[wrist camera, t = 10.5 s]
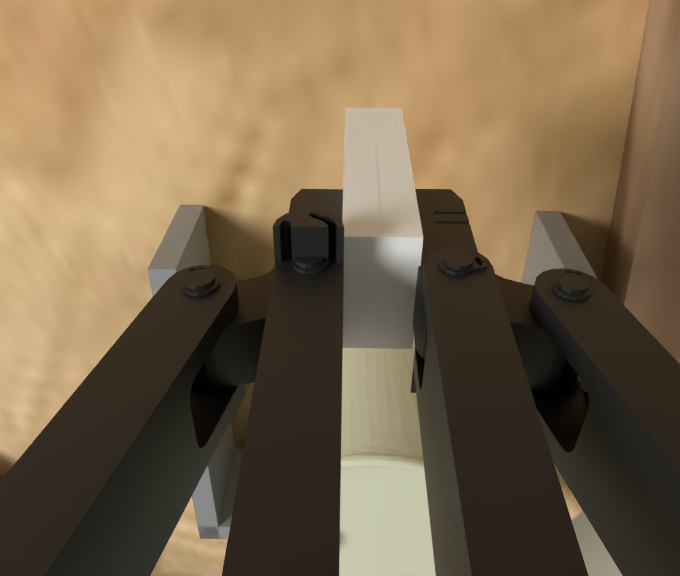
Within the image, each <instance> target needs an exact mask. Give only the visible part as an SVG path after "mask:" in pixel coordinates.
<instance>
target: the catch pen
mask: <svg viewBox="0 0 680 576" xmlns="http://www.w3.org/2000/svg"><path fill="white" fill-rule="evenodd" d="M197 265H211V259H210V251H209V244H208V236H207V228H206V220H205V212H204V206H192V205H180V207H179V209H178V211H177V212H176V214H175V216H174V218H173V220H172V222H171V224H170V226H169V228H168V230H167V232H166V234H165V236H164V238H163V240H162V242H161V244H160V246H159V248H158V250H157V252H156V254H155V256H154V258H153V260H152V262H151V263H150V265H149V267H148V273H149V278H150V283H151V288H152V294H153V296H154V295H155V294H156V293H157V291H158V290H159V289H160V288H161V287H162V285H163V284H164V283H165V282H166V281H167V279H169V278H170V277H171V276H172V275H173V274H175V273H176V272H178V271H180V270H183V269H185V268H187V267H192V266H197ZM562 268H567V269H573V270H578V271H582V272H584V273H586V274H589V275H591V276H594V277H595V278H596V279H597V276H596V275H595V273H594V271H593V269H592V268H591V266H590V264H589V262H588V260H587V259H586V257H585V255H584V253H583V252H582V250H581V248H580V246H579V244H578V243H577V241H576V239H575V237H574V236H573V234H572V232H571V230H570V228H569V227H568V225H567V223H566V221H565V220H564V218H563V216H562V214H561V212H536V215H535V220H534V225H533V230H532V235H531V240H530V245H529V250H528V255H527V260H526V265H525V270H524V274H523V279H522V283H524V284H529V285H534V284H535V280H536V277H537V276H538V275H539V274H541V273H542V272H543V271H547V270H551V269H562ZM243 449H244V448H234V440H233V433H232V425H231V422H230V424H229V426H228V428H227V430H226V431H225V433H224V435H223V437H222V439H221V441H220V443H219V445H218V447H217V449H216V451H215V452H214V454H213V456H212V458H211V460H210V462H209V464H208V466H207V468H206V470H205V472H204V473H203V475H202V477H201V479H200V481H199V483H198V485H197V487H196V489H195V491H194V493H193V494H192V499H193V504H194V510H195V515H196V520H197V525H198V530H199V535H200V538H203V539H228V537H229V531H230V525H231V519H232V513H233V507H234V502H235V496H236V490H237V484H238V478H239V472H240V466H241V461H242V455H243Z"/></svg>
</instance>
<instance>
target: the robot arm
mask: <svg viewBox="0 0 680 576" xmlns="http://www.w3.org/2000/svg"><path fill="white" fill-rule="evenodd" d="M273 236H274V251H275V268H274V269H273V270H271V271H270V272H268V273H266V274H264V275H262V276H259V277H256V278H252V279H248V280H242V281H237V282H236V279H235V276H234V274H233V273H231V272H230V271H229V270H227V269H226V268H222V267H219V266H216V265H197V266H192V267H187V268H185V269H183V270H180V271H178V272H176V273H175V274H173V275H172V276H171V277H170V278H169V279H167V281H166V282H165V283H164V284H163V285H162V287H161V288H160V289H159V290H158V291H157V293H156V294H155V295H154V296H153V298H152V299H151V300H150V301H149V302H148V304H147V305H146V306H145V307H144V308H143V310H142V311H141V312H140V313H139V314H138V316H137V317H136V318H135V319H134V321H133V322H132V323H131V324H130V325H129V327H128V328H127V329H126V330H125V331H124V333H123V334H122V335H121V336H120V337H119V339H118V340H117V341H116V342H115V343H114V345H113V346H112V347H111V348H110V350H109V351H108V352H107V353H106V354H105V356H104V357H103V358H102V359H101V360H100V362H99V363H98V364H97V365H96V366H95V368H94V369H93V370H92V371H91V373H90V374H89V375H88V376H87V377H86V379H85V380H84V381H83V382H82V383H81V385H80V386H79V387H78V388H77V389H76V391H75V392H74V393H73V394H72V395H71V397H70V398H69V399H68V400H67V402H66V403H65V404H64V405H63V406H62V408H61V409H60V410H59V411H58V412H57V414H56V415H55V416H54V417H53V418H52V420H51V421H50V422H49V423H48V425H47V426H46V427H45V428H44V429H43V431H42V432H41V433H40V434H39V435H38V437H37V438H36V439H35V440H34V441H33V443H32V444H31V445H30V446H29V447H28V449H27V450H26V451H25V452H24V454H23V455H22V456H21V457H20V458H19V460H18V461H17V462H16V463H15V464H14V466H13V467H12V468H11V469H10V470H9V472H8V473H7V474H6V475H5V477H4V478H3V479H2V480H1V481H0V576H150V575H151V573H152V571H153V569H154V567H155V565H156V563H157V561H158V559H159V557H160V555H161V554H162V552H163V550H164V548H165V546H166V544H167V542H168V540H169V538H170V536H171V535H172V533H173V531H174V529H175V527H176V525H177V523H178V521H179V519H180V517H181V515H182V514H183V512H184V510H185V508H186V506H187V504H188V502H189V500H190V498H191V496H192V494H193V493H194V491H195V489H196V487H197V485H198V483H199V481H200V479H201V477H202V475H203V473H204V472H205V470H206V468H207V466H208V464H209V462H210V460H211V458H212V456H213V454H214V452H215V451H216V449H217V447H218V445H219V443H220V441H221V439H222V437H223V435H224V433H225V431H226V430H227V428H228V426H229V424H230V422H231V420H232V418H233V416H234V414H235V412H236V411H237V409H238V407H239V405H240V403H241V401H242V399H243V397H244V395H245V393H246V389H247V385H248V383H252V382H255V385H254V391H253V396H252V402H251V408H250V414H249V420H248V426H247V431H246V437H245V443H244V449H243V455H242V461H241V466H240V472H239V478H238V484H237V490H236V496H235V502H234V507H233V513H232V519H231V525H230V531H229V537H228V542H227V548H226V554H225V560H224V566H223V572H222V576H339V558H340V492H341V426H342V359H343V348H384V349H412V347H413V337H414V340H415V354H414V363H413V373H412V383H411V393H416V396H417V406H418V415H419V424H420V434H421V443H422V452H423V462H424V471H425V480H426V490H427V499H428V508H429V517H430V527H431V536H432V545H433V555H434V564H435V573H436V576H588V573H587V570H586V567H585V563H584V560H583V557H582V554H581V550H580V547H579V544H578V541H577V537H576V534H575V531H574V528H573V524H572V521H571V518H570V515H569V512H568V508H567V505H566V502H565V499H564V495H563V492H562V489H561V486H560V483H559V479H558V476H557V473H556V470H555V466H554V464H555V465H556V467H557V468H558V470H559V472H560V473H561V475H562V477H563V478H564V480H565V482H566V483H567V485H568V487H569V488H570V490H571V491H572V493H573V495H574V496H575V498H576V500H577V501H578V503H579V505H580V506H581V508H582V510H583V511H584V513H585V514H586V516H587V518H588V519H589V521H590V523H591V524H592V526H593V528H594V529H595V531H596V533H597V534H598V536H599V537H600V539H601V541H602V542H603V543H604V546H605V547H606V549H607V551H608V552H609V554H610V555H611V557H612V559H613V560H614V562H615V564H616V565H617V567H618V569H619V570H620V572H621V574H622V575H623V576H680V364H679V363H678V361H677V360H676V359H675V358H674V357H673V356H672V355H671V354H670V353H669V352H668V351H667V350H666V349H665V348H664V347H663V346H662V345H661V344H660V343H659V342H658V340H657V339H656V338H655V337H654V336H653V335H652V334H651V333H650V332H649V331H648V330H647V329H646V328H645V327H644V326H643V325H642V324H641V323H640V322H639V320H638V319H637V318H636V317H635V316H634V315H633V314H632V313H631V312H630V311H629V310H628V309H627V308H626V307H625V306H624V305H623V304H622V303H621V302H620V301H619V299H618V298H617V297H616V296H615V295H614V294H613V293H612V292H611V291H610V290H609V289H608V288H607V287H606V286H605V285H604V284H603V283H602V282H600V281H599V280H598V279H596V278H595V277H594V276H591V275H589V274H586V273H584V272H582V271H578V270H573V269H567V268H562V269H551V270H547V271H543V272H542V273H541V274H539V275H538V276H537V277H536V280H535V284H534V285H529V284H524V283H520V282H515V281H512V280H508V279H505V278H502V277H500V276H498V275H496V274H495V273H494V270H493V266H492V265H491V263H490V262H489V260H488V259H487V258H486V257H484V256H483V255H481V254H480V253H478V251H477V248H476V244H475V241H474V237H473V234H472V230H471V227H470V224H469V220H468V217H467V214H466V210H465V206H464V203H463V200H462V199H461V198H460V197H459V196H457V195H456V194H455V193H454V192H453V191H452V190H448V189H415V186H414V180H413V174H412V168H411V162H410V156H409V150H408V144H407V139H406V133H405V127H404V121H403V115H402V109H401V108H347V107H345V138H344V176H343V190H338V189H301V190H300V191H299V192H298V193H297V194H296V195H295V196H294V197H293V198H292V199H291V203H290V209H289V213H287V214H285V215H283V216H282V217H280V218H278V219H277V220H276V222H275V224H274V225H273ZM553 462H554V463H553Z"/></svg>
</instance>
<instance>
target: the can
mask: <svg viewBox="0 0 680 576" xmlns="http://www.w3.org/2000/svg"><path fill="white" fill-rule="evenodd" d="M414 354H415V340H414V337H413V347H412V349H384V348H343V359H342V426H341V492H340V558H339V576H436V573H435V564H434V555H433V545H432V536H431V527H430V517H429V508H428V499H427V490H426V480H425V471H424V462H423V452H422V443H421V434H420V424H419V415H418V406H417V396H416V393H411V383H412V373H413V363H414Z"/></svg>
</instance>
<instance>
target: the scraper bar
mask: <svg viewBox="0 0 680 576" xmlns="http://www.w3.org/2000/svg"><path fill="white" fill-rule="evenodd" d="M601 282H602V283H603V284H604V285H605V286H606V287H607V288H608V289H609V290H610V291H611V292H612V293H613V294H614V295H615V296H616V297H617V298H618V299H619V301H620V302H621V303H622V304H623V305H624V306H625V307H626V308H627V309H628V310H629V311H630V312H631V313H632V314H633V315H634V316H635V317H636V318H637V319H638V320H639V322H640V323H641V324H642V325H643V326H644V327H645V328H646V329H647V330H648V331H649V332H650V333H651V334H652V335H653V336H654V337H655V338H656V339H657V340H658V342H659V343H660V344H661V345H662V346H663V347H664V348H665V349H666V350H667V351H668V352H669V353H670V354H671V355H672V356H673V357H674V358H675V359H676V360H677V361H678V363H679V364H680V0H650V1H649V7H648V13H647V18H646V24H645V30H644V36H643V42H642V47H641V53H640V59H639V65H638V71H637V77H636V82H635V88H634V94H633V100H632V106H631V111H630V117H629V123H628V129H627V135H626V140H625V146H624V152H623V158H622V164H621V169H620V175H619V181H618V187H617V193H616V198H615V204H614V210H613V216H612V222H611V227H610V233H609V239H608V245H607V251H606V256H605V262H604V268H603V274H602V280H601Z"/></svg>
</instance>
